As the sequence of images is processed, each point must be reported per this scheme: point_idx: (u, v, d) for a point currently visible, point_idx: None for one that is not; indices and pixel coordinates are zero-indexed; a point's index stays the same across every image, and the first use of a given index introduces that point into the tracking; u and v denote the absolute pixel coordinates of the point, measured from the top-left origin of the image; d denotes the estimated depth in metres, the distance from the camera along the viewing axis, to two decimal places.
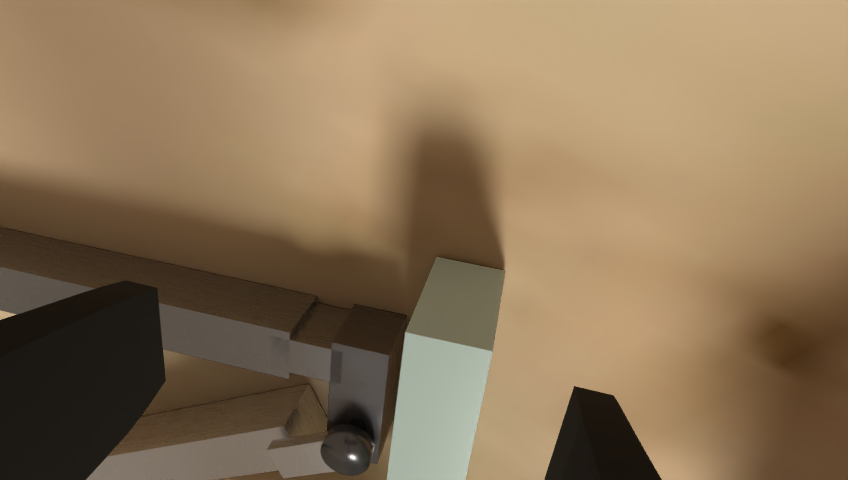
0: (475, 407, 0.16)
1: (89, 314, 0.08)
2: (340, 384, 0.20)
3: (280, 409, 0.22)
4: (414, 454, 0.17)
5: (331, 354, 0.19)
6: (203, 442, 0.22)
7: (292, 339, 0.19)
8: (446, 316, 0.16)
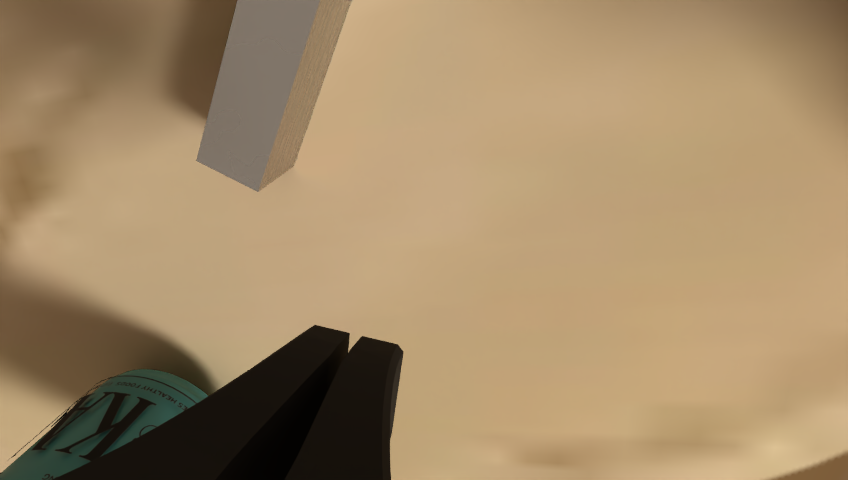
0: None
1: (314, 370, 0.08)
2: None
3: None
4: None
5: None
6: None
7: None
8: None
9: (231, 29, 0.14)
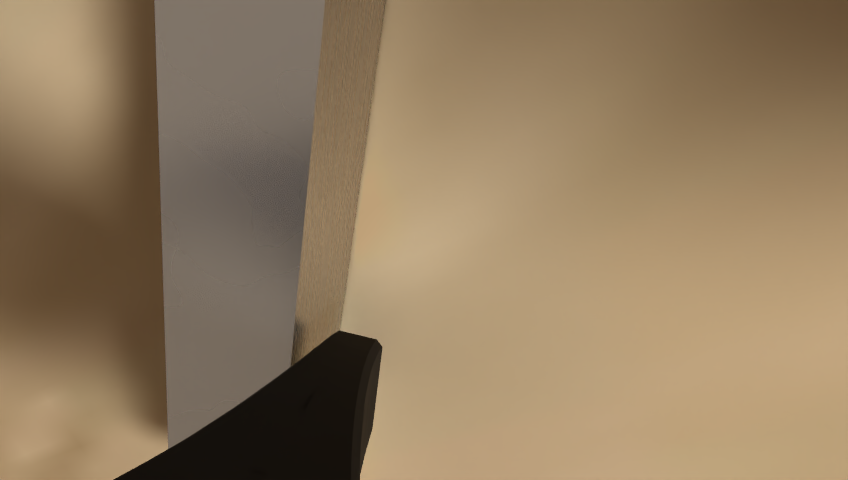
0: None
1: (341, 377, 0.08)
2: None
3: None
4: None
5: None
6: None
7: None
8: None
9: (168, 395, 0.09)
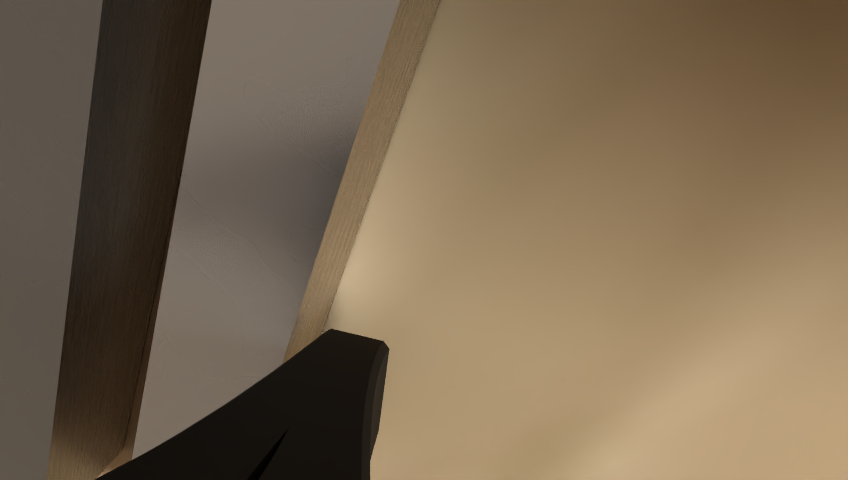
0: None
1: (332, 374, 0.08)
2: None
3: None
4: None
5: None
6: None
7: None
8: None
9: (135, 451, 0.10)
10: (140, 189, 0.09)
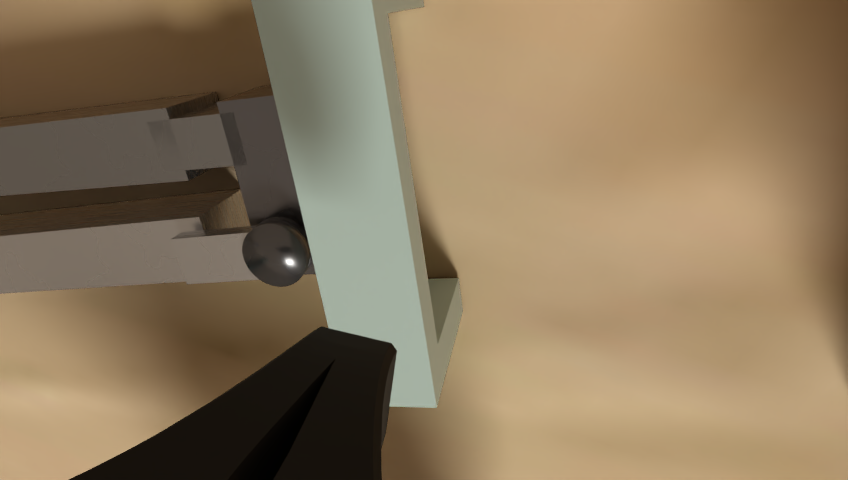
0: (374, 61, 0.11)
1: (320, 372, 0.08)
2: (247, 164, 0.15)
3: (198, 206, 0.17)
4: (326, 180, 0.12)
5: (222, 121, 0.15)
6: (89, 231, 0.17)
7: (173, 118, 0.15)
8: None
9: None
10: None
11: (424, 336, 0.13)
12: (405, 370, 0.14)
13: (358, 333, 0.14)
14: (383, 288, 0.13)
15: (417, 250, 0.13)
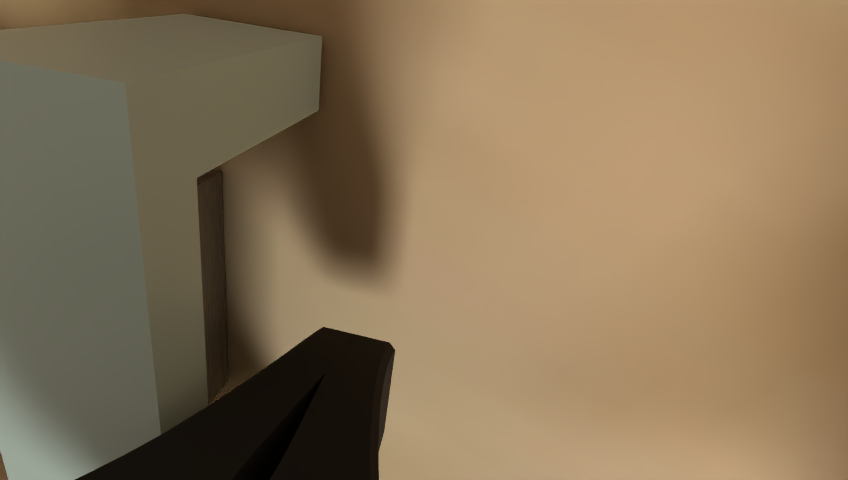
0: (133, 279, 0.06)
1: (323, 372, 0.08)
2: None
3: None
4: (40, 416, 0.07)
5: None
6: None
7: None
8: (75, 43, 0.06)
9: None
10: None
11: None
12: None
13: None
14: None
15: None
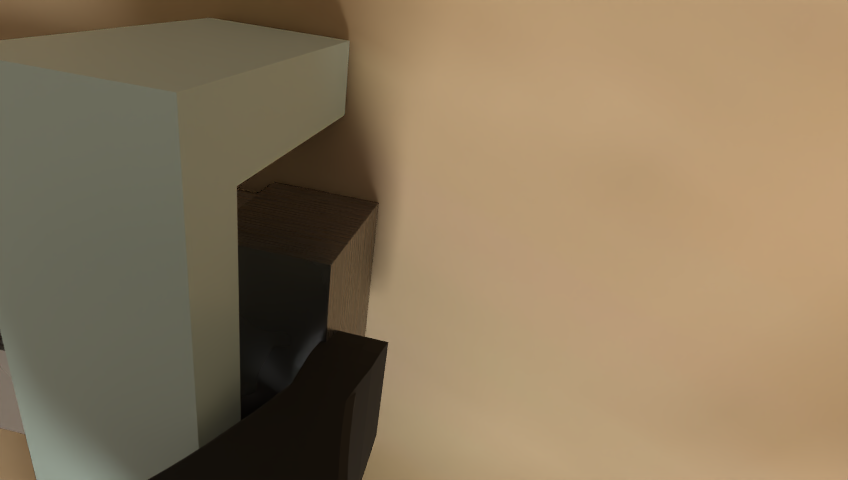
0: (176, 290, 0.06)
1: (359, 381, 0.08)
2: None
3: None
4: (74, 426, 0.07)
5: None
6: None
7: None
8: (114, 49, 0.06)
9: None
10: None
11: None
12: None
13: None
14: None
15: None
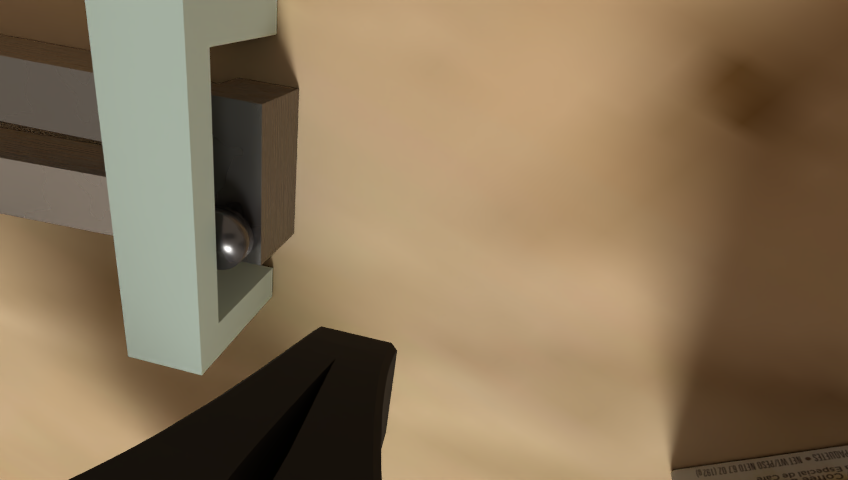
0: (181, 87, 0.13)
1: (321, 372, 0.08)
2: None
3: None
4: (131, 169, 0.14)
5: None
6: (40, 168, 0.18)
7: None
8: None
9: None
10: None
11: (198, 315, 0.16)
12: (179, 339, 0.16)
13: (144, 300, 0.16)
14: (169, 268, 0.15)
15: (205, 244, 0.15)
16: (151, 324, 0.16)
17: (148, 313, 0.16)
